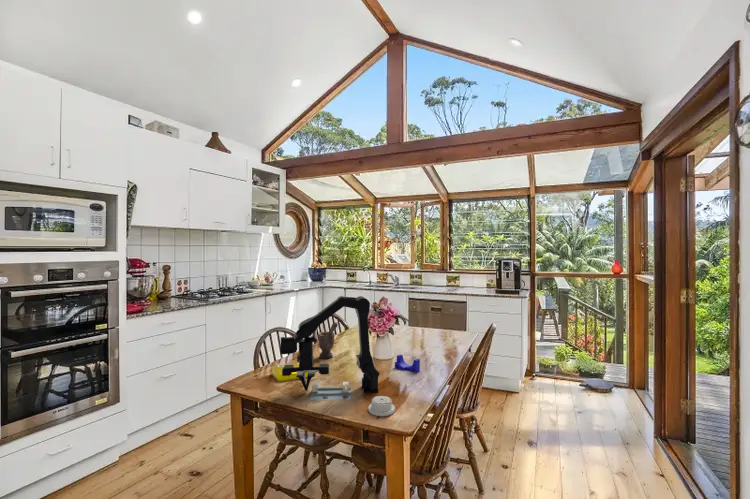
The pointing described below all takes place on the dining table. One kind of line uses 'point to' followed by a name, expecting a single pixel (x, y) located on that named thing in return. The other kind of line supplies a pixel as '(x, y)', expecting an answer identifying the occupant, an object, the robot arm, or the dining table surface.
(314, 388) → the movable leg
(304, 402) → the dining table surface
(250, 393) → the dining table surface
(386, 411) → the mechanical component
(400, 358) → the blue u-shaped bracket
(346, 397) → the board
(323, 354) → the mortar and pestle
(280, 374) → the element tile
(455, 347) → the dining table surface
